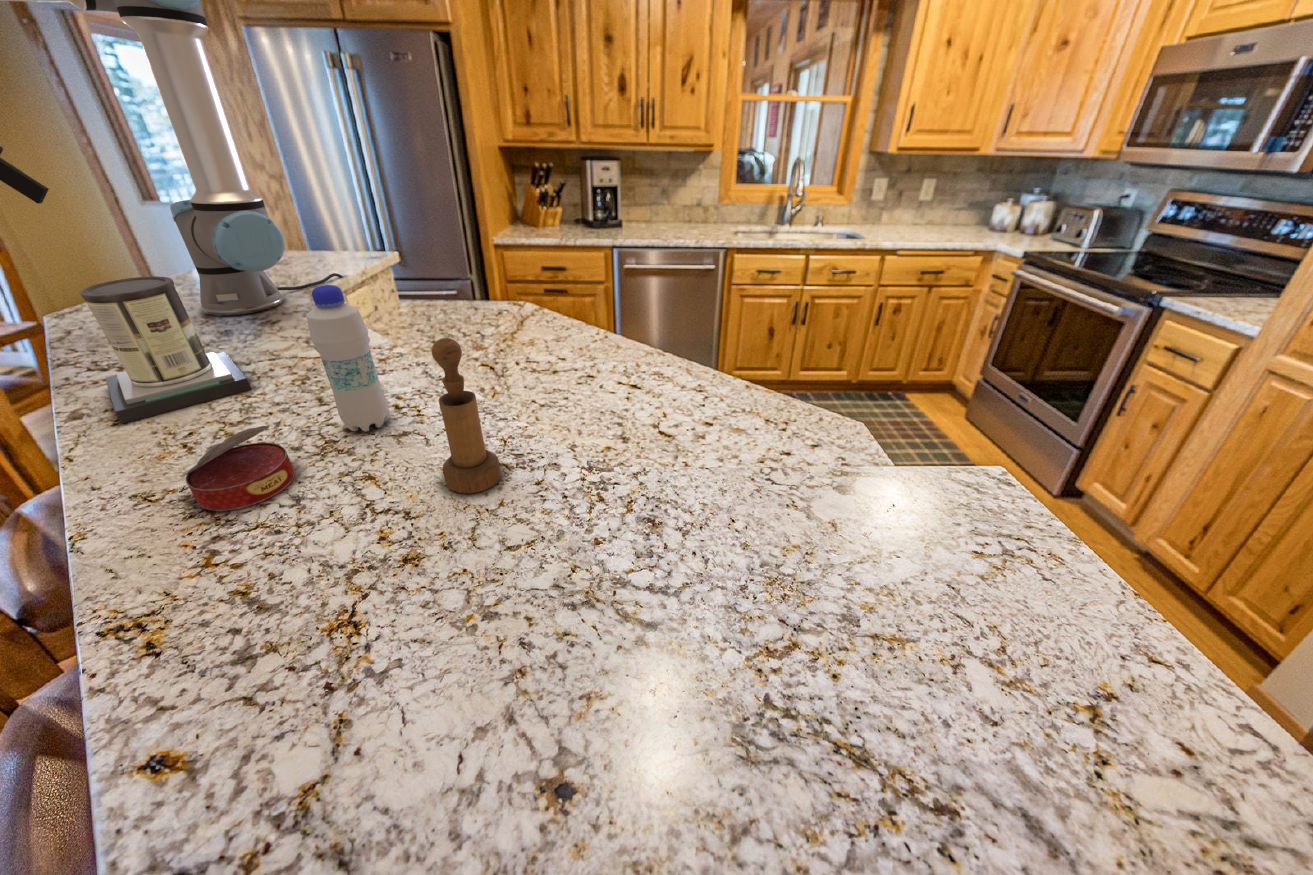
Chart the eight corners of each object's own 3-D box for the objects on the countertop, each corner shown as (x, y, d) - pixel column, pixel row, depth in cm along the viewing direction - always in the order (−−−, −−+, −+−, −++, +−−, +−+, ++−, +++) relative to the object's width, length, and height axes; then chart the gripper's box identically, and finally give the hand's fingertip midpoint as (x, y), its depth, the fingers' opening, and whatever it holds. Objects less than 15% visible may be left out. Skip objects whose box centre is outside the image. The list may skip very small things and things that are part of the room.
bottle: (403, 418, 78) (366, 282, 68) (365, 440, 73) (317, 295, 62) (371, 409, 80) (330, 276, 70) (331, 429, 75) (280, 288, 65)
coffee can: (171, 359, 89) (128, 274, 82) (228, 362, 88) (190, 277, 81) (111, 386, 80) (58, 293, 73) (174, 389, 80) (126, 296, 72)
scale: (229, 361, 96) (222, 347, 94) (251, 389, 86) (245, 373, 85) (111, 389, 86) (102, 373, 84) (122, 424, 76) (111, 406, 75)
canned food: (234, 543, 62) (144, 501, 54) (234, 491, 68) (154, 447, 61) (317, 482, 63) (240, 433, 56) (309, 437, 70) (240, 388, 63)
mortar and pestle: (511, 469, 67) (489, 333, 58) (481, 499, 62) (450, 355, 52) (467, 459, 69) (438, 326, 59) (434, 487, 64) (396, 346, 54)
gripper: (-115, 97, 75) (64, 210, 85) (-385, 90, 54) (-106, 241, 63) (-99, 52, 73) (83, 172, 82) (-375, 26, 52) (-87, 192, 61)
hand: (1, 202), depth 73 cm, fingers open, 13 cm apart
